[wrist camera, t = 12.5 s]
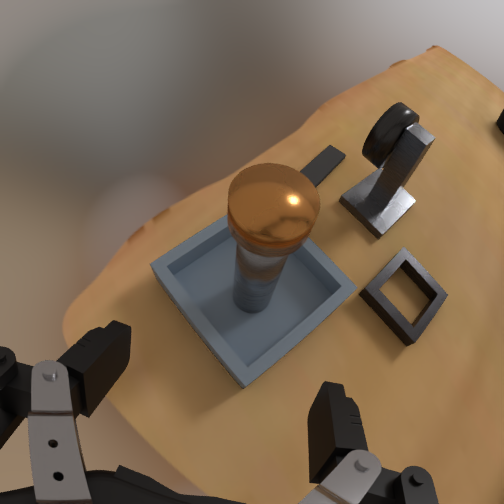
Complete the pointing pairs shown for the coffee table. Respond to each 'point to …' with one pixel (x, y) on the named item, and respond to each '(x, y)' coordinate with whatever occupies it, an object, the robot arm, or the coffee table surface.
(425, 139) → the pulley stand
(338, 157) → the strip
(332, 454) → the robot arm
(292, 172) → the pin
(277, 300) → the tray
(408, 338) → the frame
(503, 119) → the pen holder
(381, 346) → the coffee table surface
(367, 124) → the coffee table surface
